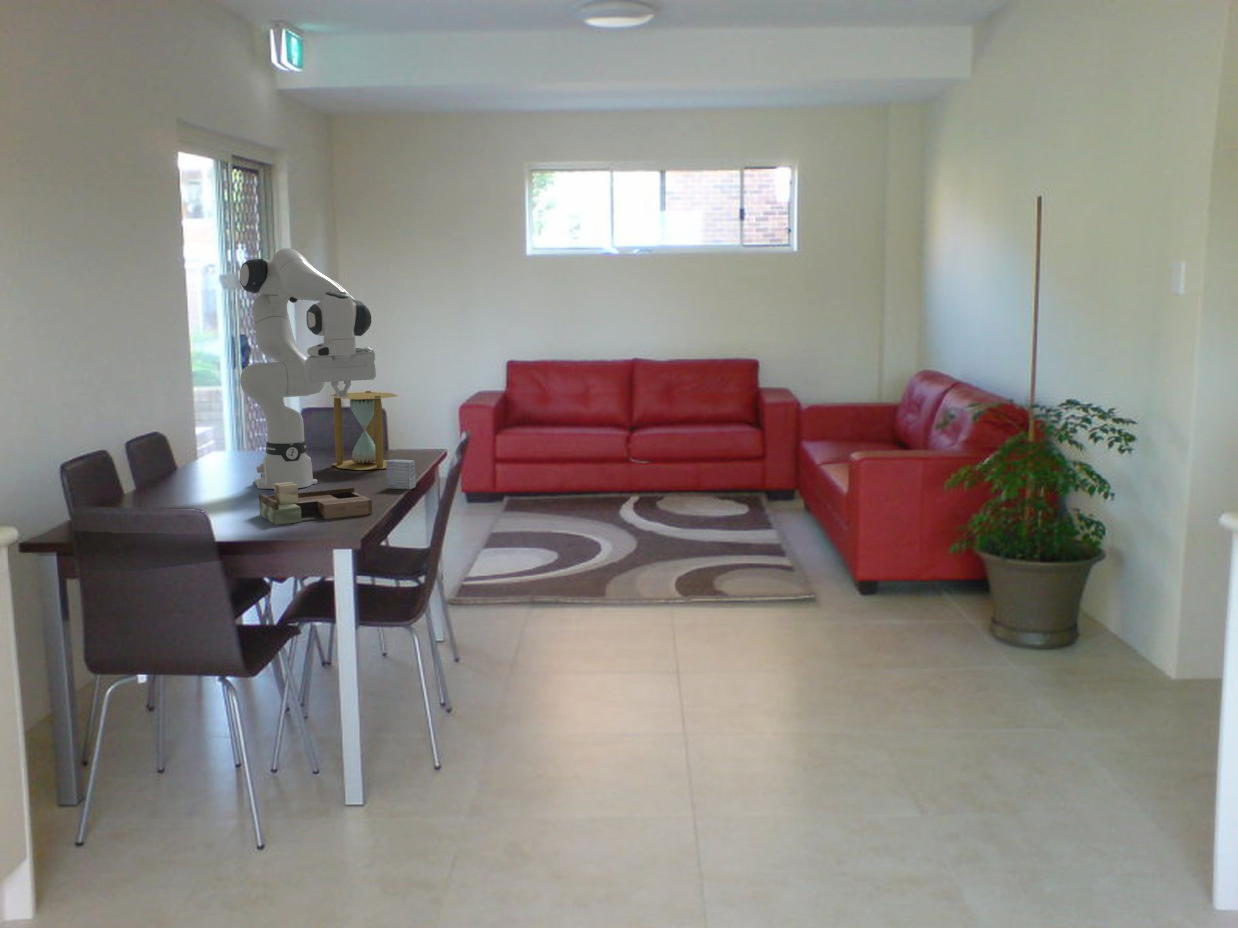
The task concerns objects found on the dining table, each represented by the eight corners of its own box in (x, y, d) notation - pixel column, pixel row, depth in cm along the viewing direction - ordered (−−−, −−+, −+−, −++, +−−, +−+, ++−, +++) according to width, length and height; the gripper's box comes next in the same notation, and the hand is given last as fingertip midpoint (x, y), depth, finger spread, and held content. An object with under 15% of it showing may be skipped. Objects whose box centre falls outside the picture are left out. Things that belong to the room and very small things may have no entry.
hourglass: (319, 465, 413) (317, 393, 409) (374, 458, 429) (372, 389, 424) (356, 473, 396) (354, 399, 392) (412, 465, 412) (410, 394, 408)
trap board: (259, 514, 329) (258, 493, 328) (353, 504, 344) (352, 484, 343) (275, 524, 317) (274, 502, 316) (372, 513, 331) (371, 492, 330)
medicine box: (416, 487, 371) (415, 460, 370) (409, 490, 367) (409, 462, 366) (393, 486, 373) (392, 459, 372) (386, 488, 369) (385, 461, 368)
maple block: (274, 501, 328) (273, 483, 327) (292, 499, 330) (291, 481, 330) (280, 504, 324) (279, 486, 323) (298, 502, 326) (297, 484, 325)
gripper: (370, 347, 347) (372, 394, 349) (301, 349, 336) (303, 397, 339) (378, 348, 342) (379, 395, 344) (308, 350, 331) (310, 399, 333)
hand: (341, 396), depth 341 cm, fingers closed
